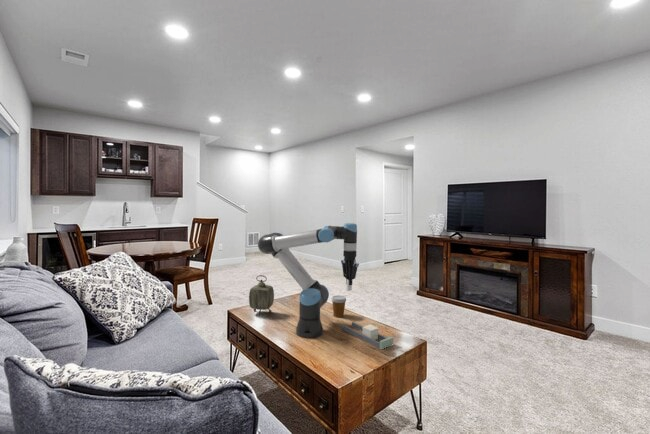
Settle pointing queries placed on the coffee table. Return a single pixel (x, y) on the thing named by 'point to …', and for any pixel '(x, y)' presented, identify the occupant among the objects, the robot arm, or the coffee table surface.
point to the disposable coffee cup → (338, 305)
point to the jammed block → (370, 332)
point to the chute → (383, 343)
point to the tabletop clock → (261, 296)
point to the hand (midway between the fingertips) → (349, 290)
